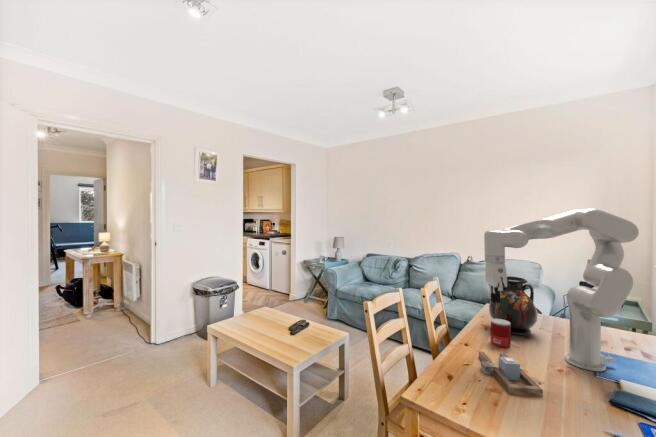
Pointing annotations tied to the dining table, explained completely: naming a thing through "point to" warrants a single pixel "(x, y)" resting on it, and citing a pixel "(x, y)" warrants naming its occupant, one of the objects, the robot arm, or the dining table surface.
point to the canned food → (500, 333)
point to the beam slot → (492, 369)
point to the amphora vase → (516, 307)
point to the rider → (509, 368)
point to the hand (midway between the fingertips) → (495, 301)
